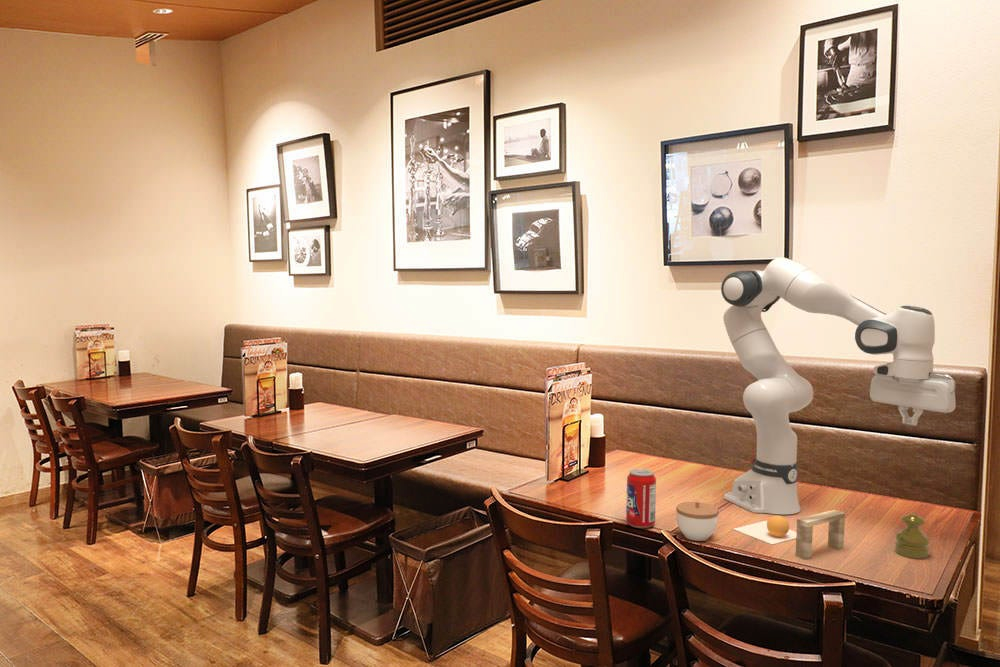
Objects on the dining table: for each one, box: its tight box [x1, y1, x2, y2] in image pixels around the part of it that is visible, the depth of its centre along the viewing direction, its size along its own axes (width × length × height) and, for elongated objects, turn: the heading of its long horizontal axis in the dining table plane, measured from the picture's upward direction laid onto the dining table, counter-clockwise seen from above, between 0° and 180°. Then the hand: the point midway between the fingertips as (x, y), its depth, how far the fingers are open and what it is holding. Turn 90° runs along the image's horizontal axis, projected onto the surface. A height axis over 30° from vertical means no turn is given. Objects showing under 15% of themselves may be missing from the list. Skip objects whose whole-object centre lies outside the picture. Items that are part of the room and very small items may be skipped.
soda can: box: [625, 468, 657, 529], centre depth 200 cm, size 8×8×15 cm
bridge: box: [795, 509, 846, 561], centre depth 181 cm, size 3×14×9 cm, turn 120°
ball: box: [767, 515, 790, 537], centre depth 192 cm, size 6×6×6 cm
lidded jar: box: [675, 500, 719, 542], centre depth 191 cm, size 11×11×9 cm
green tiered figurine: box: [894, 513, 931, 560], centre depth 180 cm, size 7×7×10 cm
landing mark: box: [732, 520, 797, 546], centre depth 195 cm, size 13×13×1 cm
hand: (909, 424), depth 185 cm, fingers closed
